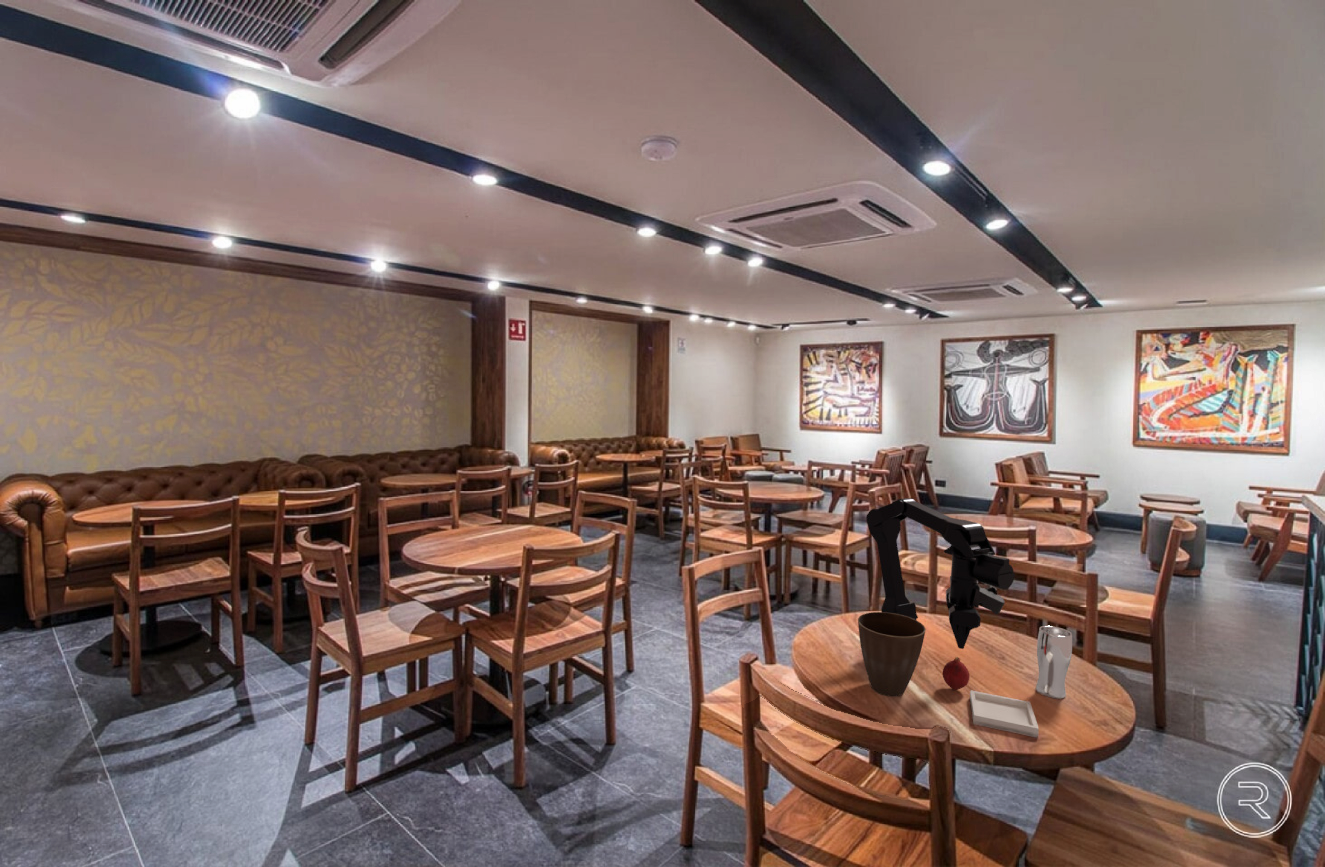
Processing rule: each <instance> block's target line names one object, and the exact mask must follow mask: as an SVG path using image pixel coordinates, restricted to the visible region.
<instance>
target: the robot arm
mask: <svg viewBox="0 0 1325 867" xmlns="http://www.w3.org/2000/svg"><path fill="white" fill-rule="evenodd" d="M865 518H866V519H865V520H866V525H867V527H868V531H869V533H870V535H871V536H872V538H873V540H874V541H875V542H876V544H877V550H878V556H879V557H878V558H879V564H880V570H881V576H882V583H883V590H884V595H885V596H884V600H883V603H882V605H881V611H880V612H887V613H894V614H899V615H903V616H907V617H910V618H912V619H915V620H917V619H919V616H918V614H917V606H916V603H915V602H914V601H913V602H911V601H910V600H909V599H908V598H907V596H906V593H905V592H906V591H905V587H904V585H905V584H904V579H903V573H902V567H901V566H902V565H901V560H900V555H899V550H898V541H897V540H898V537H899V535H900V532H901V522H903V521H905V520H906V519H907V518H908V519H910V520H912V521H914V522H916V523H919V524H920V525H922V526H924V527H926V528H928V529H930V530H932V531H935V532H936V533H938V534H940V535H941V536H942V538H943V540H944V541H945V542H946V543H948V544H950V546H948V547H947V548H946V549H944V550H943V552H944V553H945V554H947V555H951V566H950V567H951V569H950V570H951V571H950V572H951V573H950V575H949V583H950V584H949V586H950V587H948V588H947V589H946V591H945V602H946V606H947V610H948V621H949V622H948V623H949V624H950V627H951V630H952V633H953V636H954V639H955V641H956V644H957V648H958V649H961V650H964V649H965V646H966V643H967V641H968V638H969V635H970V633H971V631H972V630H974V629H977V628H979V627H981V620H982V619H981V615H980V612H979V611H978V610H977V609H978V608H980V607H982V608H985V609H986V610H989V611H991V612H992V613H993V614H994V615H999V614H1000V613H1001V610H1002V609H1003V607H1004V605H1005V603H1006V602H1005V600H1004V598H1003V597H1002V596H1001V595H1000V594H998V590H997V589H999V590H1000V589H1001V590H1003V591H1006V590H1008V589H1009V588H1011V587H1012V584H1013V583H1014V580H1015V575H1016V574H1015V573H1016V572H1015V571H1014V568H1013V566H1012V564H1010V559H1009V558H1008V557H1003V556H1001V557H1000V556H997V555H996V552H995V550H994V548H993V546H992V544H991V542H990V541H989V539H988V537H987V535H986V532H985V528H984V526H983V525H981V524H980V523H978V522H975V521H971V520H966V519H961V518H960V519H959V518H954V517H950V516H949V515H946V514H944V513H941V512H939V511H937V510H935V509H933V508H931V507H929V506H926V505H924V504H922V503H920V502H918V501H917V500H915V499H913V498H912V497H909V498H908V497H907V498H897V500H894V501H893V502H892V503H888V504H887V505H883V506H882V507H879V508H872V509H870V511H868V513H867V514H866V517H865ZM974 548H975V549H974ZM979 583H981V584H985V585H988V586H987V587H981V586H980V584H979ZM976 608H977V609H976ZM917 621H918V620H917Z"/></svg>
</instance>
